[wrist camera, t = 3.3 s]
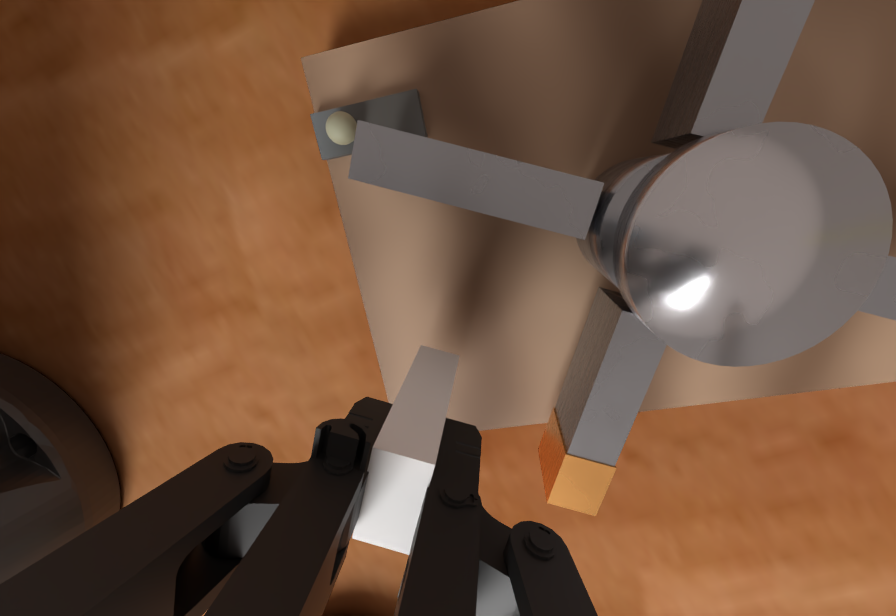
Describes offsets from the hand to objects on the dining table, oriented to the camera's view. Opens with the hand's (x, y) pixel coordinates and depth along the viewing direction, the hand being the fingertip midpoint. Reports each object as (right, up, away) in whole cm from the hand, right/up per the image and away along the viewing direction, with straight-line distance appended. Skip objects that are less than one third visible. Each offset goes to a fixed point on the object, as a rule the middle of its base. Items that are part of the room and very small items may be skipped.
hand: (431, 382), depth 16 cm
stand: (+8, +7, +2) cm, 10 cm away
